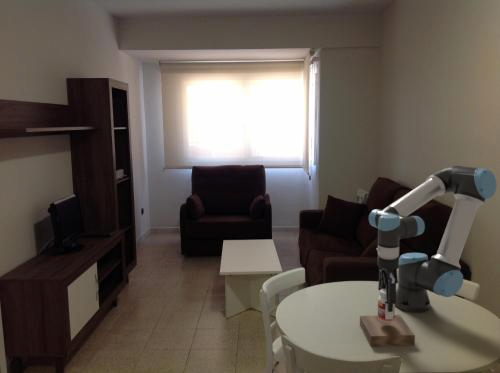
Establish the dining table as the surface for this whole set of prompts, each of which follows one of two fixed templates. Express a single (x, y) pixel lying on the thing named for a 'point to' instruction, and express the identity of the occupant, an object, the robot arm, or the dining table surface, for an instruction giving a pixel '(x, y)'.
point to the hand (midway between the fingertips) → (386, 314)
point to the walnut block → (387, 331)
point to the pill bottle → (383, 307)
